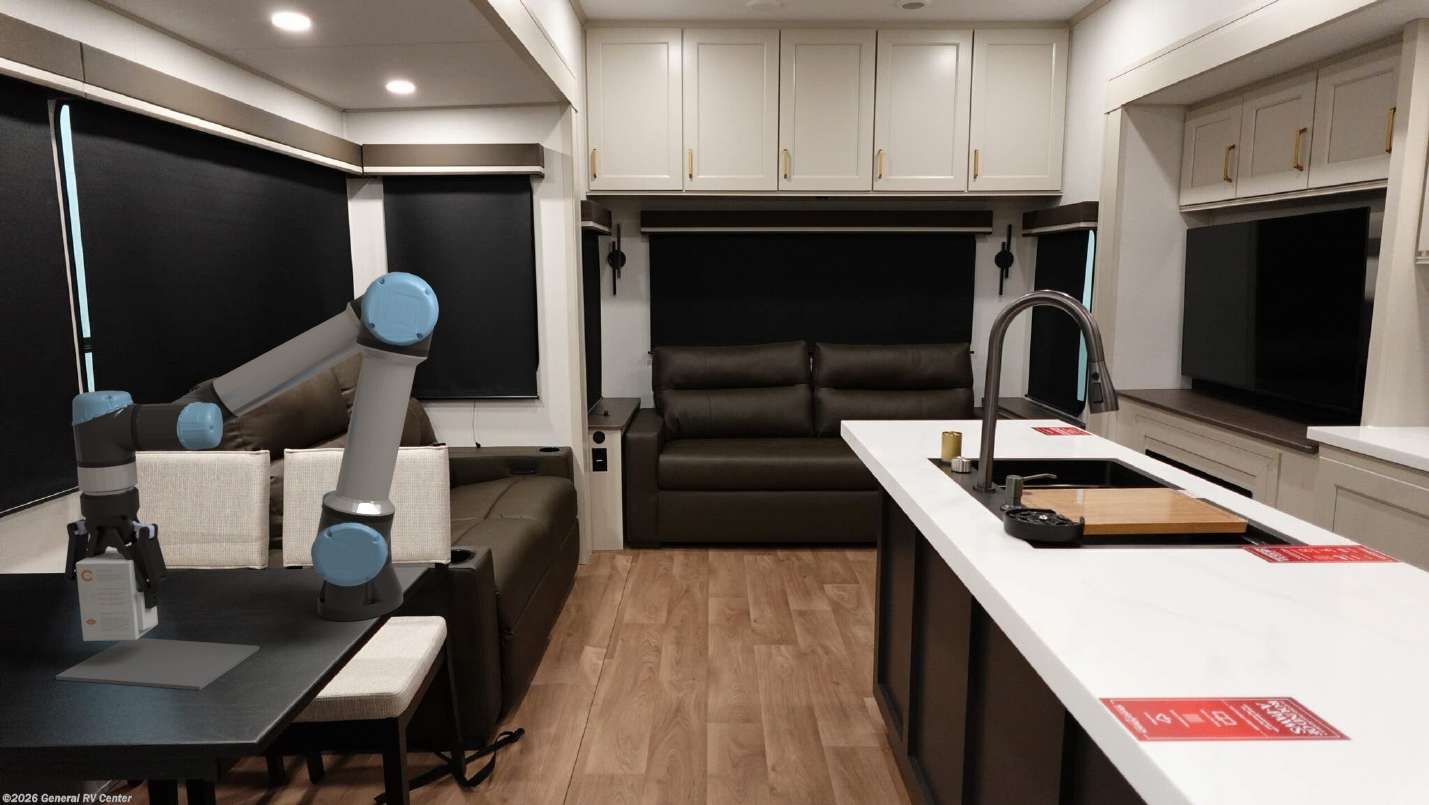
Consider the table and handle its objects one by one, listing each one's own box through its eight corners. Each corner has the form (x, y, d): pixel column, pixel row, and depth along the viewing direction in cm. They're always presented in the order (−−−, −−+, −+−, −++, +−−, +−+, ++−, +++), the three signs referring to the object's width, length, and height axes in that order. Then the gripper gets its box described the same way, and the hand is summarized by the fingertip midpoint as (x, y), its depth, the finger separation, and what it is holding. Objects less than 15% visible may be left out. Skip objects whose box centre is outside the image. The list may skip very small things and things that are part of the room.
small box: (159, 624, 135) (153, 549, 133) (136, 641, 129) (129, 562, 127) (107, 625, 135) (100, 549, 133) (81, 642, 128) (74, 563, 126)
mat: (259, 649, 138) (259, 646, 138) (199, 690, 124) (199, 686, 124) (129, 640, 140) (128, 637, 140) (56, 679, 126) (55, 676, 126)
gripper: (190, 486, 131) (199, 619, 134) (68, 480, 133) (80, 611, 136) (153, 498, 124) (164, 639, 127) (25, 491, 126) (39, 629, 129)
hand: (120, 624), depth 132 cm, fingers closed on small box, 9 cm apart
